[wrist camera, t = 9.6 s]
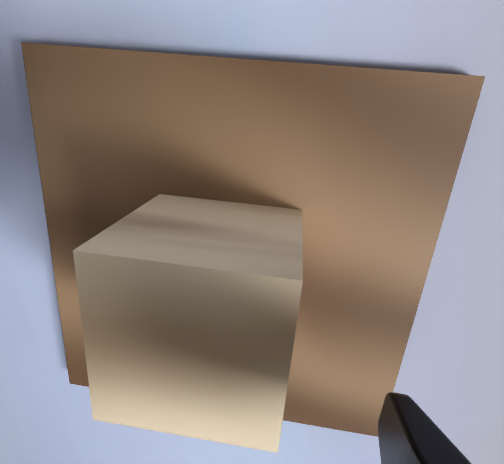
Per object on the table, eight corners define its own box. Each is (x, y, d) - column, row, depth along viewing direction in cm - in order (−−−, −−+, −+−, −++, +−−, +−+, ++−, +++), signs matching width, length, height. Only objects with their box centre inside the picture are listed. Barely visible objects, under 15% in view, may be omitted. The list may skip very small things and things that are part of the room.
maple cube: (285, 332, 14) (277, 452, 9) (162, 314, 14) (93, 419, 9) (302, 209, 12) (303, 280, 7) (159, 194, 12) (72, 250, 8)
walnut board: (376, 424, 15) (379, 436, 15) (77, 373, 17) (69, 383, 16) (475, 77, 10) (484, 76, 10) (34, 45, 12) (21, 42, 11)
